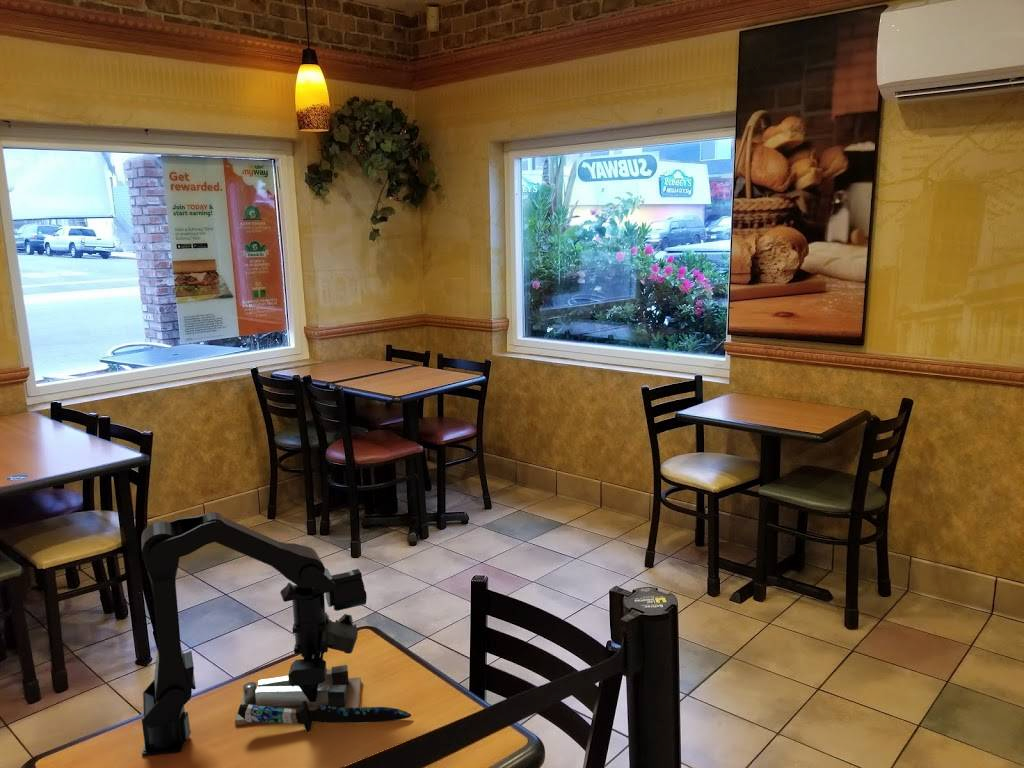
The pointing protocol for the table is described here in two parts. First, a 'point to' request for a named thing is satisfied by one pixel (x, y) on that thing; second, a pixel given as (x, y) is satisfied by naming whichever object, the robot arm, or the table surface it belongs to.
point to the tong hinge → (249, 693)
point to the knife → (319, 714)
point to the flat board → (351, 702)
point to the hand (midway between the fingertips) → (315, 690)
